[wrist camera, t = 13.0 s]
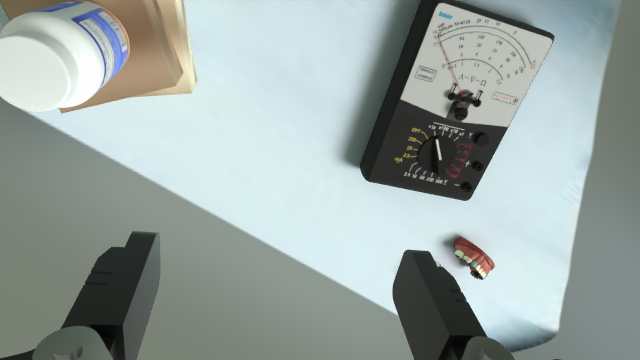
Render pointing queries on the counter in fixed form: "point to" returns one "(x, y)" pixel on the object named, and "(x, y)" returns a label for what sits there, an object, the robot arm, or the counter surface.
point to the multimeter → (452, 98)
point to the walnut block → (145, 48)
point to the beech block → (178, 47)
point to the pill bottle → (60, 55)
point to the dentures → (473, 258)
